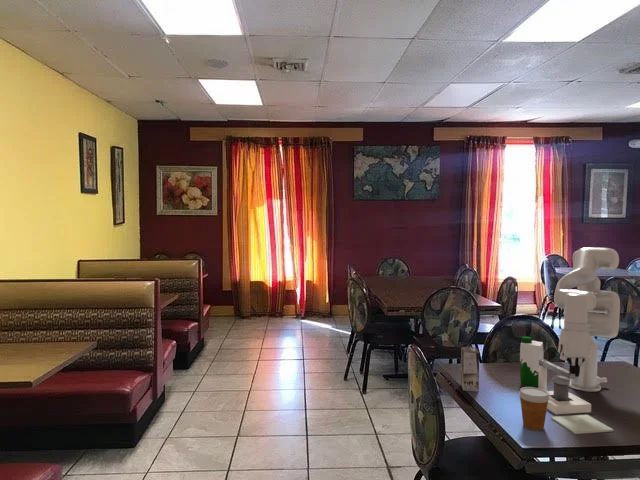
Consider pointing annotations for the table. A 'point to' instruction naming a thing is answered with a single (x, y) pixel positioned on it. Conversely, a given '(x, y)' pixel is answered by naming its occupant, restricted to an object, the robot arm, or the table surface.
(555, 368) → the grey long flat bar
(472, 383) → the coffee box
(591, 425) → the rubber mat
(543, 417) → the disposable coffee cup
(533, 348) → the milk carton
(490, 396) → the table surface
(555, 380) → the plug
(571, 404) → the socket base
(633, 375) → the table surface
